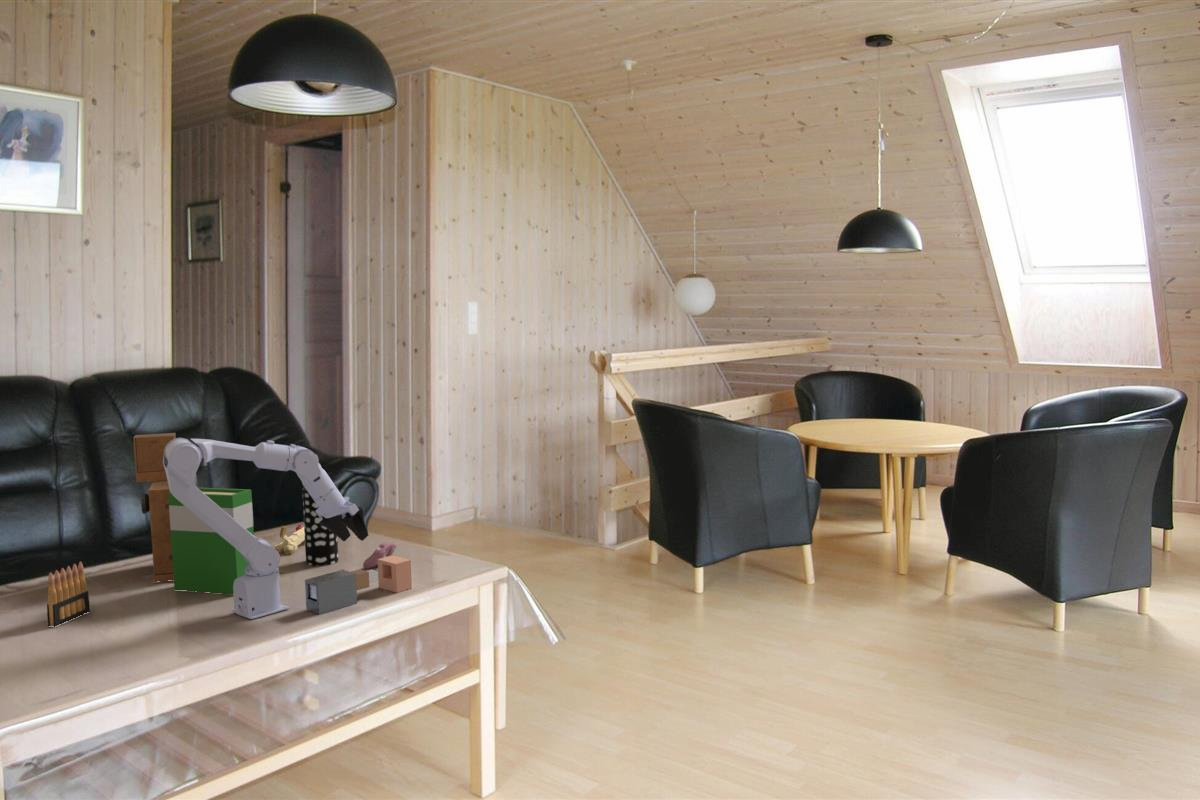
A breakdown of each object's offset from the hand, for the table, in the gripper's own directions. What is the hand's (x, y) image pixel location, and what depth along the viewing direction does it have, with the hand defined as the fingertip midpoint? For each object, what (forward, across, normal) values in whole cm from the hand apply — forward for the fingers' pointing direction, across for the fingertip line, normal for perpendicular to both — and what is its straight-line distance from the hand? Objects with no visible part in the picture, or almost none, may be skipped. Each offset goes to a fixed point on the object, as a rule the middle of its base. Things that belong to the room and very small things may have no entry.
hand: (355, 538), depth 229 cm
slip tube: (+7, -1, +10) cm, 12 cm away
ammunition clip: (-18, +36, +49) cm, 63 cm away
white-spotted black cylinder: (+12, +34, -5) cm, 37 cm away
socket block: (+16, 0, -1) cm, 16 cm away
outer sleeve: (+8, -1, +15) cm, 17 cm away
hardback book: (-2, +33, +21) cm, 39 cm away
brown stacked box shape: (-5, +57, +18) cm, 60 cm away
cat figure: (+13, +56, -14) cm, 59 cm away
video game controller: (+18, +20, -11) cm, 30 cm away
